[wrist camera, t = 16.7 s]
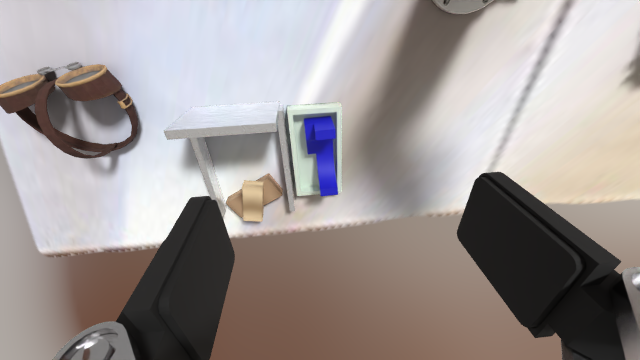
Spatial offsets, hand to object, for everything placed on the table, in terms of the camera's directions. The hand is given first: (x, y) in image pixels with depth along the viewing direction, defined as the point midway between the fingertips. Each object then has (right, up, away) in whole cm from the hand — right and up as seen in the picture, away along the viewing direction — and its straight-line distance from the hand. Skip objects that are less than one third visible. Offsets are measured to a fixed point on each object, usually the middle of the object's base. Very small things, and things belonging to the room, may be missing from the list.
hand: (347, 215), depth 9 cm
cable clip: (-1, +7, +36) cm, 37 cm away
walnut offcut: (-14, -1, +41) cm, 43 cm away
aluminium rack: (-14, +5, +36) cm, 39 cm away
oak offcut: (-14, -2, +39) cm, 41 cm away
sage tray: (-2, +7, +36) cm, 37 cm away
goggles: (-36, +12, +30) cm, 49 cm away
